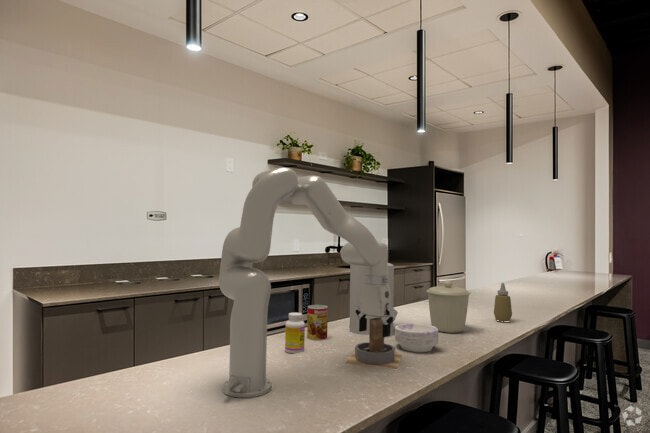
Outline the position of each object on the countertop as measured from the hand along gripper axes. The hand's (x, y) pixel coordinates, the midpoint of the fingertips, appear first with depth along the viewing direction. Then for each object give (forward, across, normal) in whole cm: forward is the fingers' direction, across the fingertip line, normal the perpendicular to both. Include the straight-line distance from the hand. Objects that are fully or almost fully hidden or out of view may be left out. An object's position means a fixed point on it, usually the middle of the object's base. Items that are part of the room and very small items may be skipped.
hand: (374, 333), depth 136 cm
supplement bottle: (+9, +25, +12) cm, 29 cm away
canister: (+8, +6, -56) cm, 57 cm away
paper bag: (+8, +23, -31) cm, 40 cm away
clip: (+8, 0, -1) cm, 8 cm away
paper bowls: (+8, -2, -21) cm, 23 cm away
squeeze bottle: (+7, -3, -92) cm, 92 cm away
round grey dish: (+8, 0, -1) cm, 8 cm away
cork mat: (+9, 0, -1) cm, 9 cm away
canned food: (+9, +33, -6) cm, 35 cm away
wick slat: (+7, 0, -1) cm, 7 cm away
